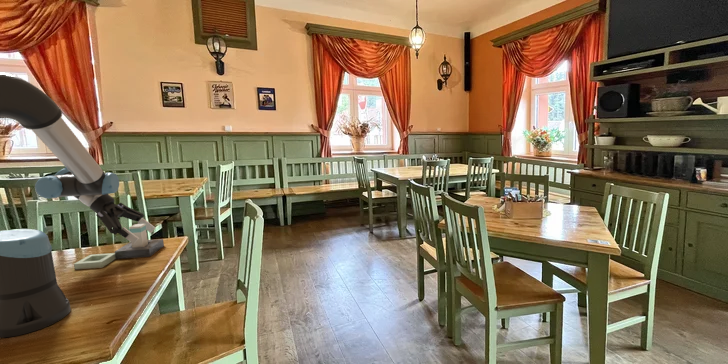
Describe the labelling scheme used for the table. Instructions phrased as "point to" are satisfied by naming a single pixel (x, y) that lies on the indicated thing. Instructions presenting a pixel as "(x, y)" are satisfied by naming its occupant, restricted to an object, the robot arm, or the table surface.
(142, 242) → the plug peg
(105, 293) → the table surface
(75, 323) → the table surface
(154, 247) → the socket block
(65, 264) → the table surface
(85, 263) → the pale green square slab
